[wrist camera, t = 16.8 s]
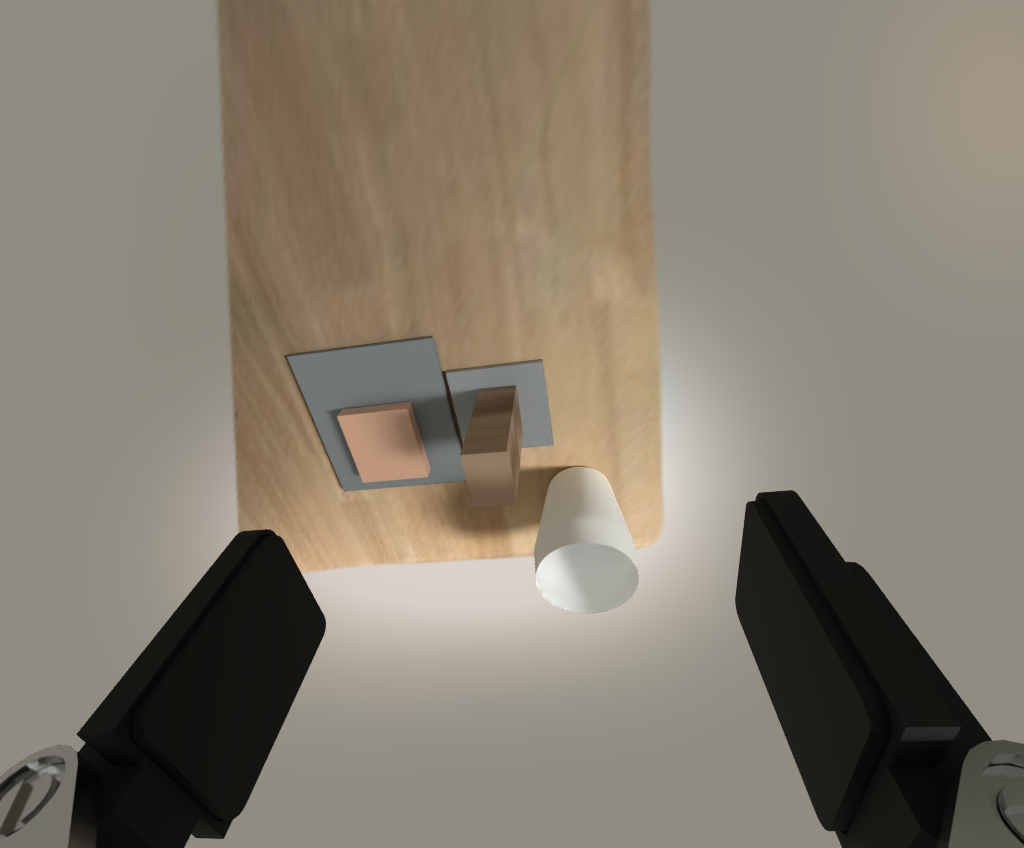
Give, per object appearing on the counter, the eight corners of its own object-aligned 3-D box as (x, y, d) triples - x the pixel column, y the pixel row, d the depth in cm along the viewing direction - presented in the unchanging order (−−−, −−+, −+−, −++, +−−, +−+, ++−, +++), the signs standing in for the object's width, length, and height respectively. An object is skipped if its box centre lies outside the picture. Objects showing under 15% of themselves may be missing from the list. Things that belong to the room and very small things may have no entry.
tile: (336, 416, 45) (362, 482, 49) (406, 408, 44) (427, 477, 48) (343, 408, 46) (368, 473, 50) (411, 400, 46) (431, 467, 49)
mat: (290, 354, 45) (287, 356, 44) (432, 335, 43) (431, 338, 42) (345, 488, 53) (343, 491, 52) (468, 477, 51) (467, 480, 50)
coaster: (446, 370, 44) (445, 373, 44) (542, 359, 43) (542, 361, 43) (466, 450, 49) (465, 453, 48) (553, 441, 48) (553, 445, 47)
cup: (563, 442, 47) (566, 525, 37) (639, 477, 49) (662, 566, 39) (522, 503, 52) (515, 592, 42) (593, 533, 53) (603, 627, 43)
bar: (479, 388, 44) (459, 455, 35) (516, 385, 44) (506, 451, 34) (488, 433, 47) (472, 507, 37) (523, 430, 46) (515, 504, 37)
